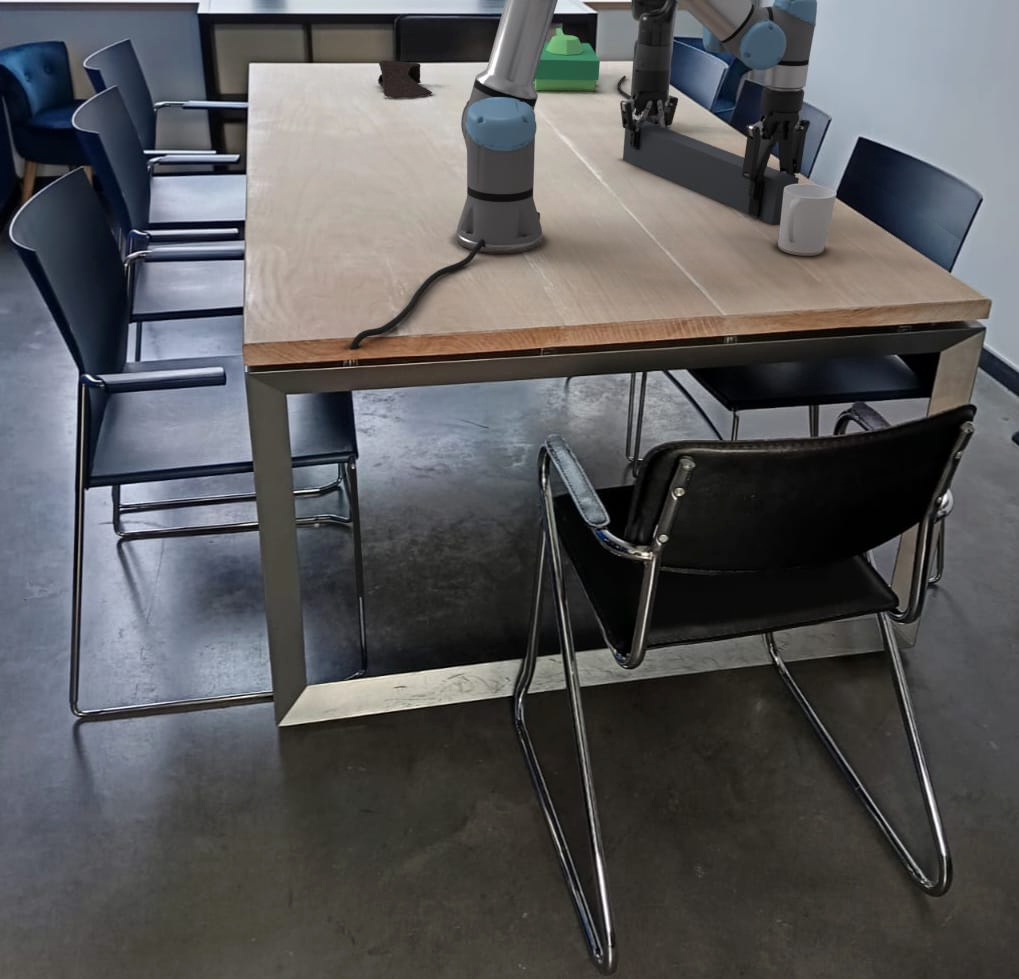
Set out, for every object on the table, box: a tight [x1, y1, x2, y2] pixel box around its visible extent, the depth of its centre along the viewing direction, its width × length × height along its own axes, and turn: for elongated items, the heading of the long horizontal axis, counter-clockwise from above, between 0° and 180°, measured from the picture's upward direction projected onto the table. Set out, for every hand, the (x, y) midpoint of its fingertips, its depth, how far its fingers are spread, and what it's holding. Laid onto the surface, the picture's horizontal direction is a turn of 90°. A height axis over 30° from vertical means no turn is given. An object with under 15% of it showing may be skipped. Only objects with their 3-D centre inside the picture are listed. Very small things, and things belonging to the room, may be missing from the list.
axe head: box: [377, 59, 433, 99], centre depth 299 cm, size 18×8×15 cm
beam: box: [622, 121, 800, 225], centre depth 224 cm, size 50×5×8 cm, turn 29°
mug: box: [777, 183, 837, 257], centre depth 191 cm, size 11×9×10 cm
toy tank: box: [534, 27, 601, 91], centre depth 314 cm, size 18×12×35 cm
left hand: (765, 212), depth 211 cm, fingers closed on beam, 5 cm apart
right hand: (645, 147), depth 240 cm, fingers closed on beam, 5 cm apart
